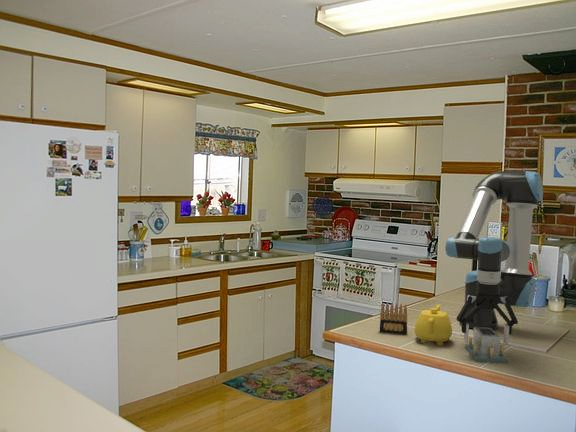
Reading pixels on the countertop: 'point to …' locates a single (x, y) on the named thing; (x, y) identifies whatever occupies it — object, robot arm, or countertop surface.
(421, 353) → the countertop surface
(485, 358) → the pegboard
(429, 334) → the teapot
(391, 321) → the ammunition clip
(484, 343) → the grey box
